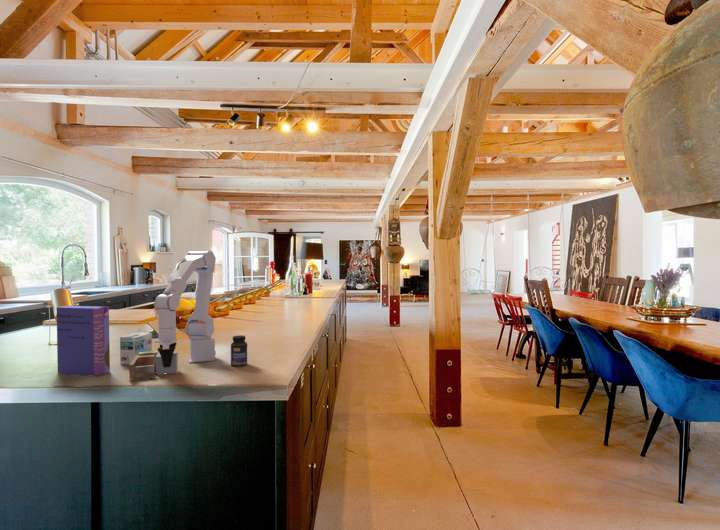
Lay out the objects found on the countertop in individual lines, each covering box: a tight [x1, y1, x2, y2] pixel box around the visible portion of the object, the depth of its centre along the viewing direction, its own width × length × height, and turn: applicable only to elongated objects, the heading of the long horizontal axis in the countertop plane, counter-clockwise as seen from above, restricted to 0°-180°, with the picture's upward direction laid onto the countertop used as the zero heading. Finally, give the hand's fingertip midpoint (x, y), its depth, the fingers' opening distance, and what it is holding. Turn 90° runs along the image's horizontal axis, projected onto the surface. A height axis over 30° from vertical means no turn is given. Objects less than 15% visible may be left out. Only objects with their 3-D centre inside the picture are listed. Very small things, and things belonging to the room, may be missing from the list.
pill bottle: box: [230, 335, 248, 367], centre depth 156 cm, size 6×6×11 cm
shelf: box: [128, 350, 159, 382], centre depth 145 cm, size 7×15×6 cm, turn 21°
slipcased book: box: [155, 352, 179, 375], centre depth 146 cm, size 7×4×6 cm, turn 111°
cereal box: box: [56, 305, 111, 377], centre depth 146 cm, size 17×5×24 cm, turn 78°
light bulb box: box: [119, 331, 153, 365], centre depth 163 cm, size 11×7×11 cm, turn 172°
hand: (167, 365), depth 146 cm, fingers open, 5 cm apart
